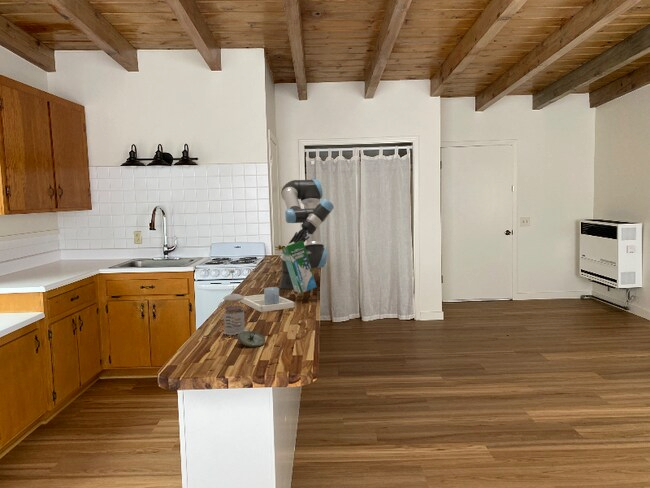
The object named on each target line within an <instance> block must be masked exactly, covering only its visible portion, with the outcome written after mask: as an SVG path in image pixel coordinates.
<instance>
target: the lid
mask: <svg viewBox="0 0 650 488" xmlns="http://www.w3.org/2000/svg"><path fill="white" fill-rule="evenodd" d="M236 340H237V341H238V342H239V343H240V344H242V345H243V346H246V347H249V348H258V347H261V346H263V345H265V343H266V338H265V336H263V335H262V334H261V333H259V332H257V331H254V330H247V331H242V332H240V333H238V335H236Z"/></svg>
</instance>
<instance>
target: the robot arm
mask: <svg viewBox="0 0 650 488" xmlns="http://www.w3.org/2000/svg"><path fill="white" fill-rule="evenodd" d="M280 194H281V198H282V200H283V201H284V202H285V206H286V209H285V212H284V214H285V215H284V216H285V222H286V223H287V224H300V226H301V229H300V230H299V231H298V232H297V231H295V233H294V234H293V236H292V238H291V239H290V241H289V242H288V243H287V244H289V243H292V242H294V243H297V242H300V241H303V242H304V243H305V242H306V243H305V244H304V245H305V249H306V252H307V256H308V259H309V262H310V266H311V269H320V268H324V267H325V266H326V265H327V261H328V250H327V249H328V248H326V247H325V246H324V243H322V242H321V241H322V240H321V227H320V226H321V225H322V223H323V222H325V220H326V219H327V217H328V216H329V214H330V213H331V212H332V211H333V209H334V208H335V207H334V204H333V203H332V202H331V201H330V200H328V199H327V198H323V188H322V184H321V182H320V181H319V180H318V179H313V178H312V179H311V178H310V179H293V180H289V181H288V182H287V183H285V184H284V185H283V187H282V188H281V192H280ZM299 200H300V201H299ZM300 203H301V204H302V205H303V208H302V206H301V204H300ZM279 258H280V259H281V273H282V274H281V278H280V281H279V289H283V290H294V288H293V284H292V281H291V278H290V275H289V271H288V268H287V265H286V259H285V255H283V251H281V254H280V257H279Z"/></svg>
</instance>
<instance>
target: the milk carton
mask: <svg viewBox="0 0 650 488" xmlns="http://www.w3.org/2000/svg"><path fill="white" fill-rule="evenodd" d="M288 243H289V242H288ZM288 243H287V244H286V246H285V247H283V248H282V249H281V250H282V251H283V255H285V259H286V265H287V268H288V271H289V275H290V278H291V281H292V284H293V288H294V289H293V290H294V291H293V292H296V293H299V294H302V293H306V292H308V291H311V290H312V289H316V288H317V284H316V279H315V276H314V273H313V270H312V269H313V268H311V266H310V262H309V259H308V256H307V252H306V249H305V245H306V244H305V242H303V241H300V242H297V243H294V242H292V243H289V244H288ZM282 251H281V252H282Z"/></svg>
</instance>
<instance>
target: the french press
mask: <svg viewBox="0 0 650 488" xmlns="http://www.w3.org/2000/svg"><path fill="white" fill-rule="evenodd" d="M235 272H236V271H235V269H231V270H229V273H230V274H232V275H231V276H232V279H234V273H235ZM234 291H235V290H234V287H232V293H231V294H227V295H225V296H224V297H223V301H221V302H219V303H218V306H217V311H218V312H217V314H218V316H219V318H220V319H222V320H224V330H223V331H222V334H224V335H226V334H227V335H228V336H237V335H236V334H238V333H240V332H242V331H248V329H246V328H245V325H246V323H245V310H243V309H244V307H243V306H242V305H231V306H226V307H225V308H224V310H226V311H223V313H224V314H223V315H224V316H223V315H222V313H221V305H222V303H223V305H224V306H225V305H227V301H229V302H232V301H233V302H235V301H236V302H237V301H241V300H242V299H243V298H244V296H243V295H242V294H238V293H235V292H234ZM227 335H226V336H227Z"/></svg>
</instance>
